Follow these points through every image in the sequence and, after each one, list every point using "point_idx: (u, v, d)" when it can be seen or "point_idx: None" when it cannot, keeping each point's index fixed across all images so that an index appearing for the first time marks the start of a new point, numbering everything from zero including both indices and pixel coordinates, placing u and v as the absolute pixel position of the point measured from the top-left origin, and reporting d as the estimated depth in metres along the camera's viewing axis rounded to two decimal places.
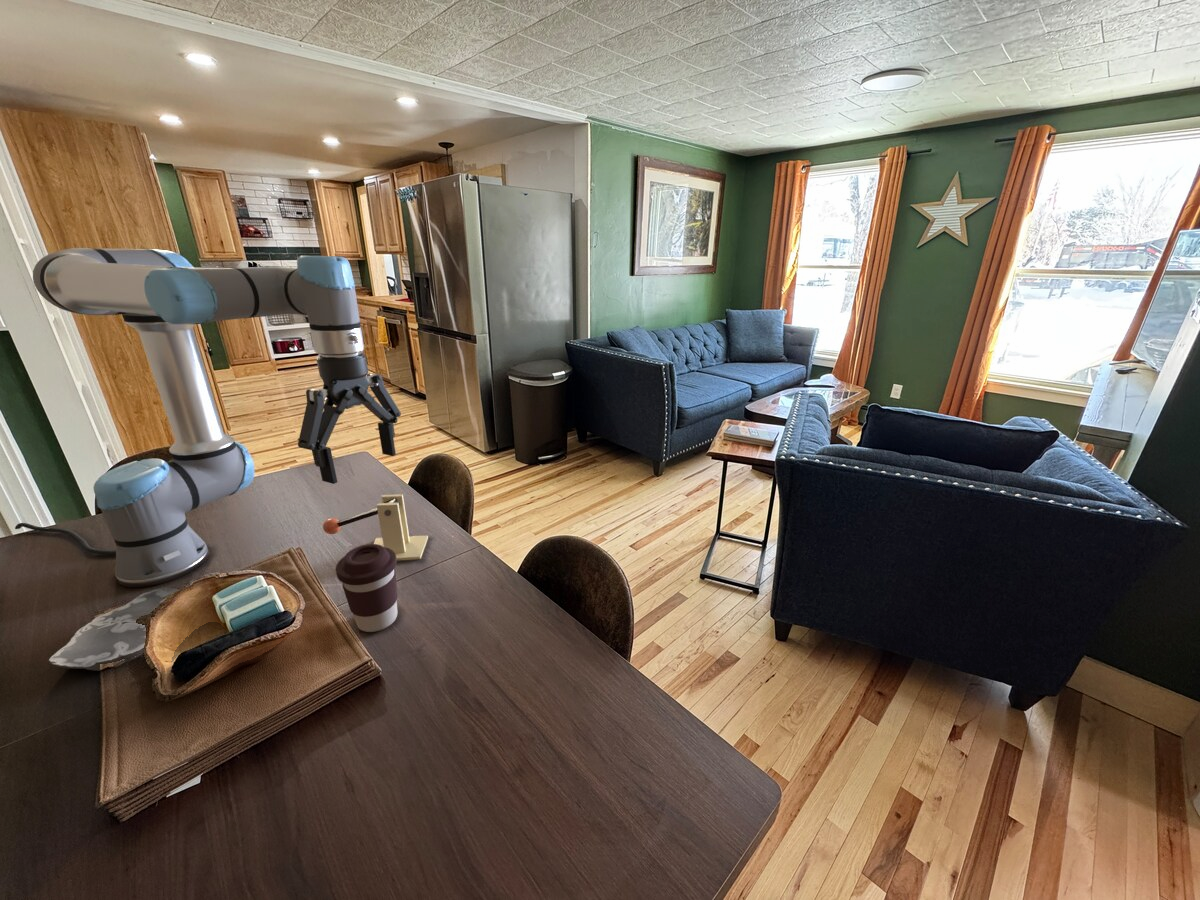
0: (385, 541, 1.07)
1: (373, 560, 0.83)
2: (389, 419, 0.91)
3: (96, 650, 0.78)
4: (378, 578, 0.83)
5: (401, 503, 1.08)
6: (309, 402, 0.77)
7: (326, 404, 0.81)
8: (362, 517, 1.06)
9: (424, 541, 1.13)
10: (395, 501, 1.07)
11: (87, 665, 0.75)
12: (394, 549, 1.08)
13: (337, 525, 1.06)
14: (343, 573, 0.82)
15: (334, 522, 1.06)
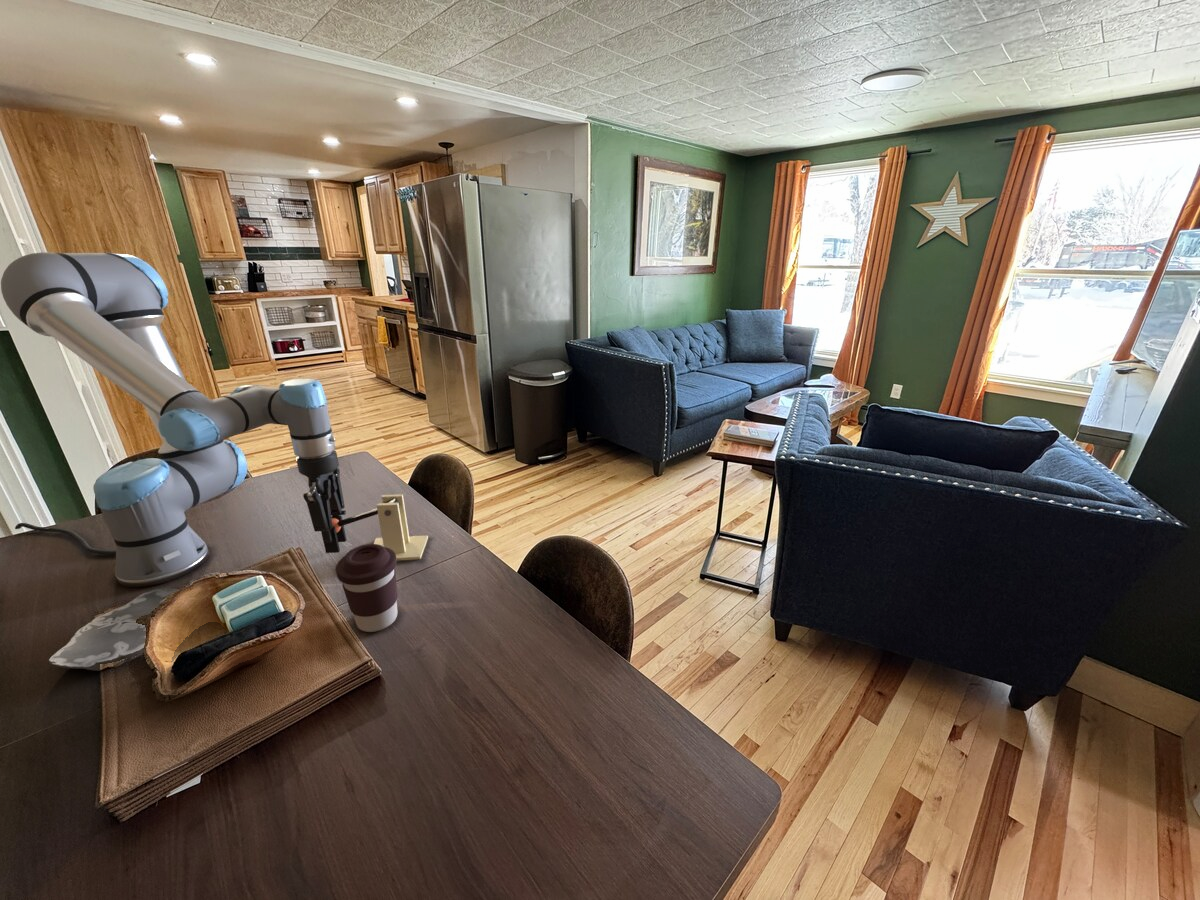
0: (385, 541, 1.07)
1: (373, 560, 0.83)
2: (340, 511, 1.08)
3: (96, 650, 0.78)
4: (378, 578, 0.83)
5: (401, 503, 1.08)
6: (309, 502, 0.98)
7: None
8: (362, 517, 1.06)
9: (424, 541, 1.13)
10: (395, 501, 1.07)
11: (87, 665, 0.75)
12: (394, 549, 1.08)
13: (337, 525, 1.06)
14: (343, 573, 0.82)
15: (334, 522, 1.06)
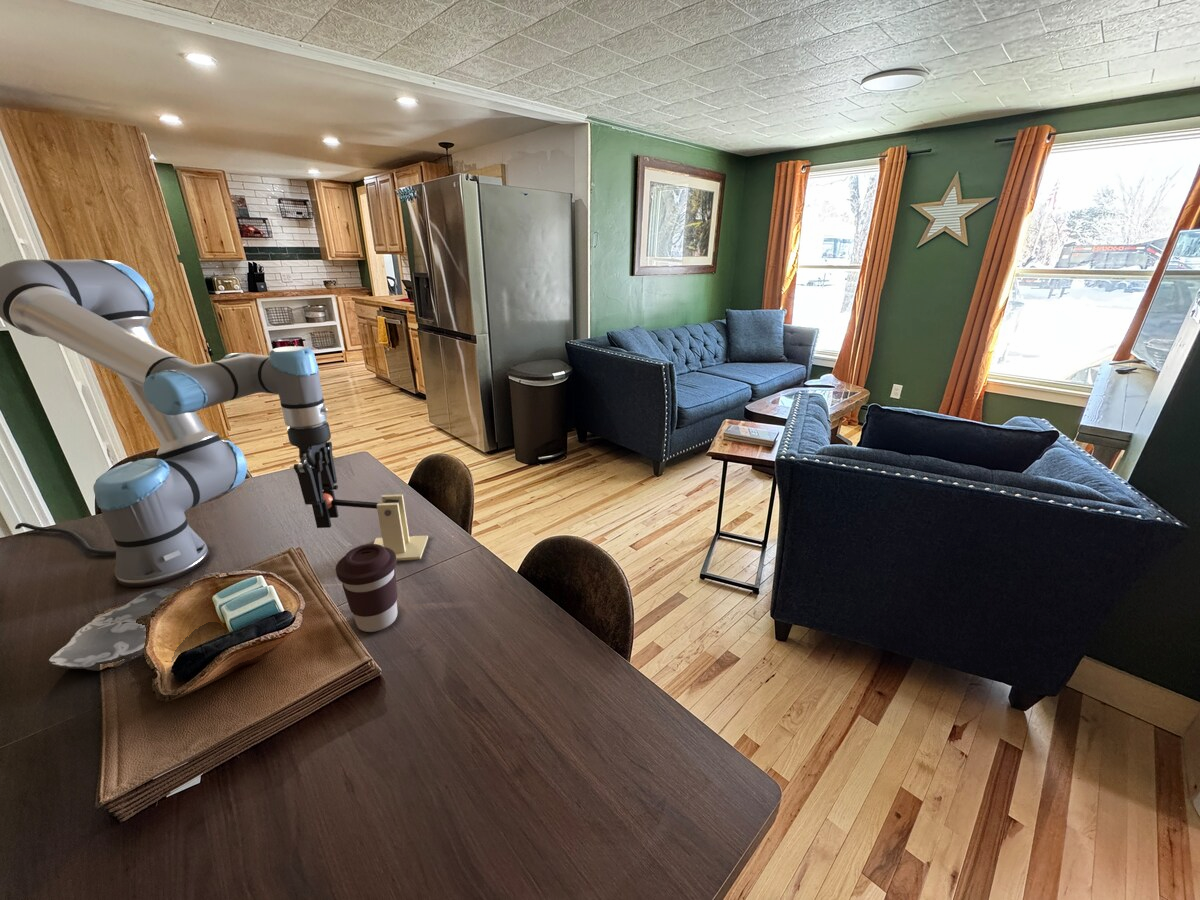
0: (385, 541, 1.07)
1: (373, 560, 0.83)
2: (332, 485, 1.06)
3: (96, 650, 0.78)
4: (378, 578, 0.83)
5: (401, 503, 1.08)
6: (300, 474, 0.95)
7: None
8: (358, 505, 1.05)
9: (424, 541, 1.13)
10: None
11: (87, 665, 0.75)
12: (394, 549, 1.08)
13: (330, 503, 1.04)
14: (343, 573, 0.82)
15: (328, 499, 1.03)
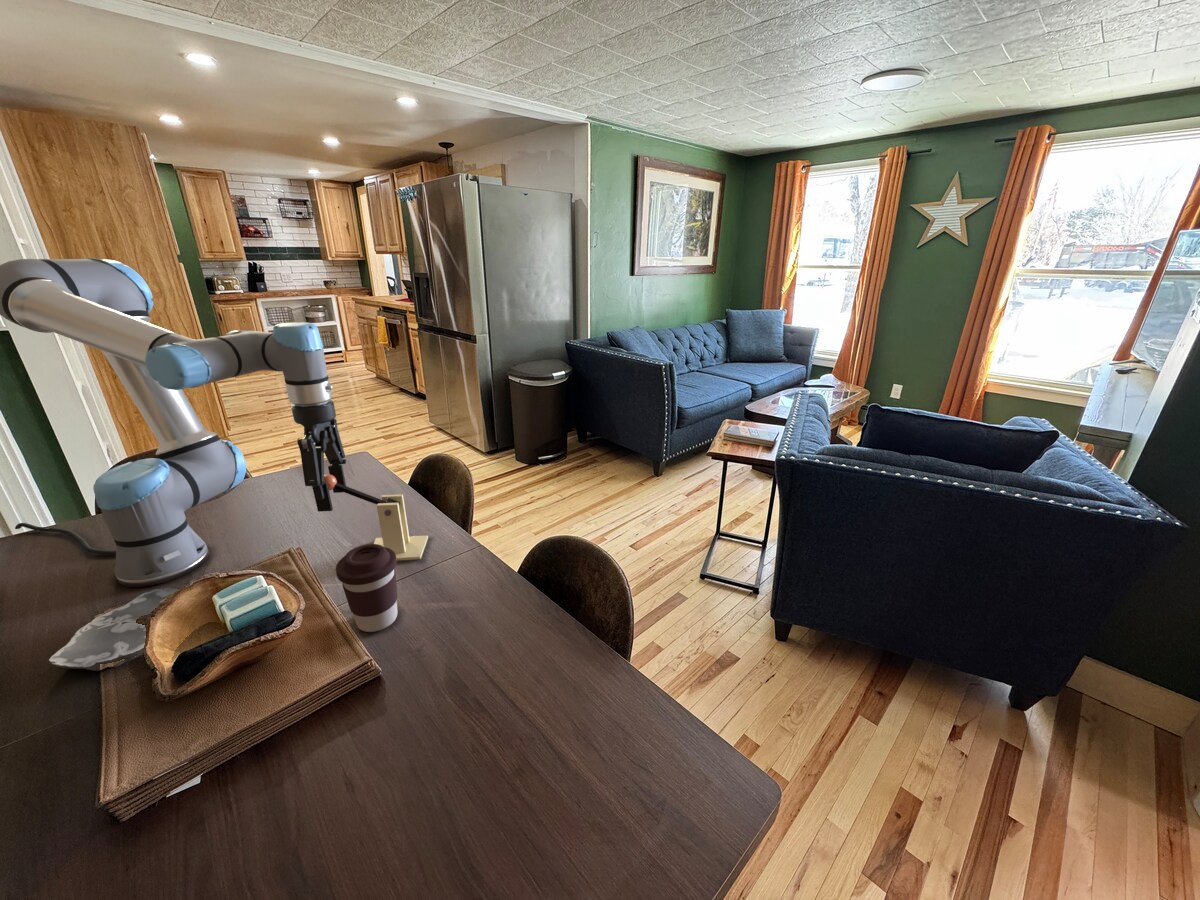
0: (385, 541, 1.07)
1: (373, 560, 0.83)
2: (340, 460, 1.06)
3: (96, 650, 0.78)
4: (378, 578, 0.83)
5: (401, 503, 1.08)
6: (303, 450, 0.93)
7: None
8: (360, 496, 1.04)
9: (424, 541, 1.13)
10: None
11: (87, 665, 0.75)
12: (394, 549, 1.08)
13: (333, 486, 1.02)
14: (343, 573, 0.82)
15: (333, 482, 1.02)
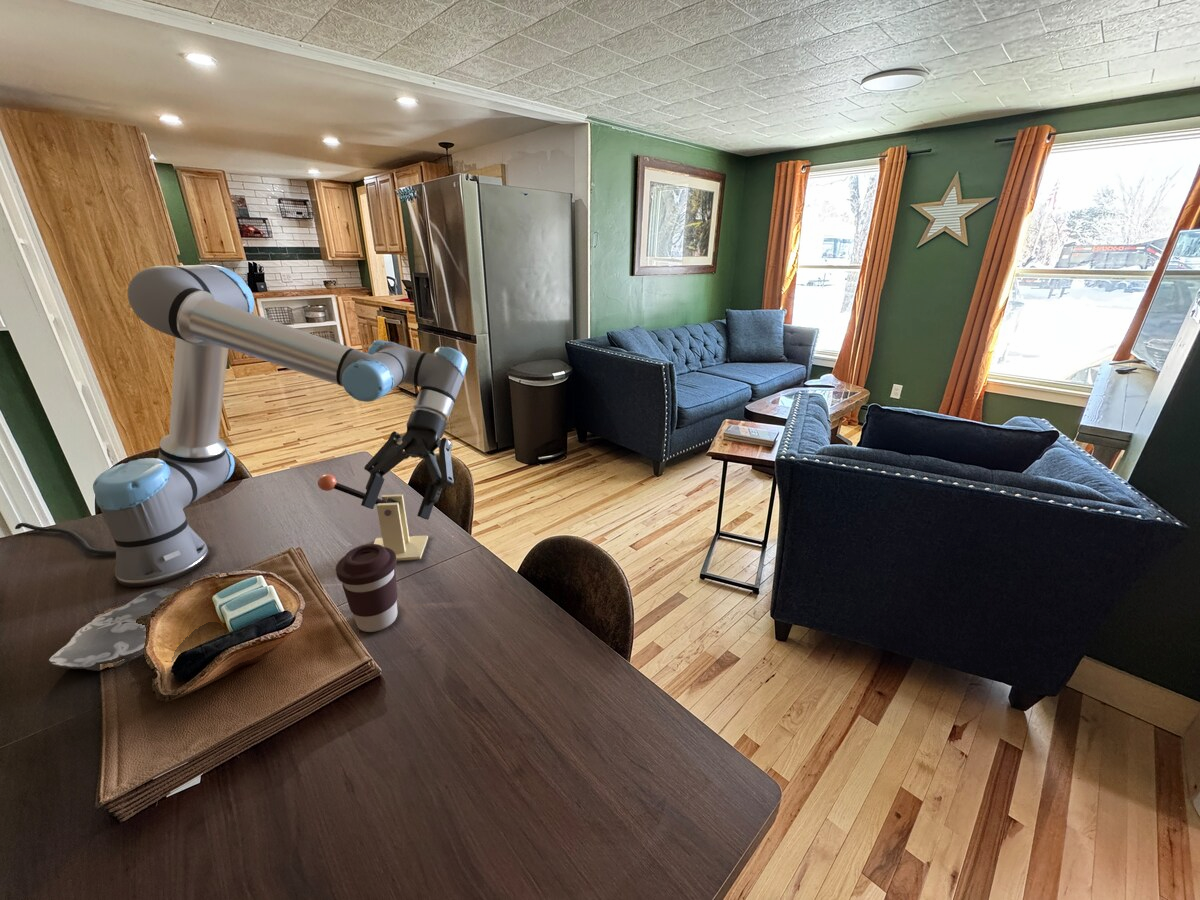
0: (385, 541, 1.07)
1: (373, 560, 0.83)
2: None
3: (96, 650, 0.78)
4: (378, 578, 0.83)
5: (401, 503, 1.08)
6: (445, 448, 0.95)
7: (427, 451, 0.95)
8: (360, 496, 1.04)
9: (424, 541, 1.13)
10: None
11: (87, 665, 0.75)
12: (394, 549, 1.08)
13: (333, 486, 1.02)
14: (343, 573, 0.82)
15: (333, 482, 1.02)
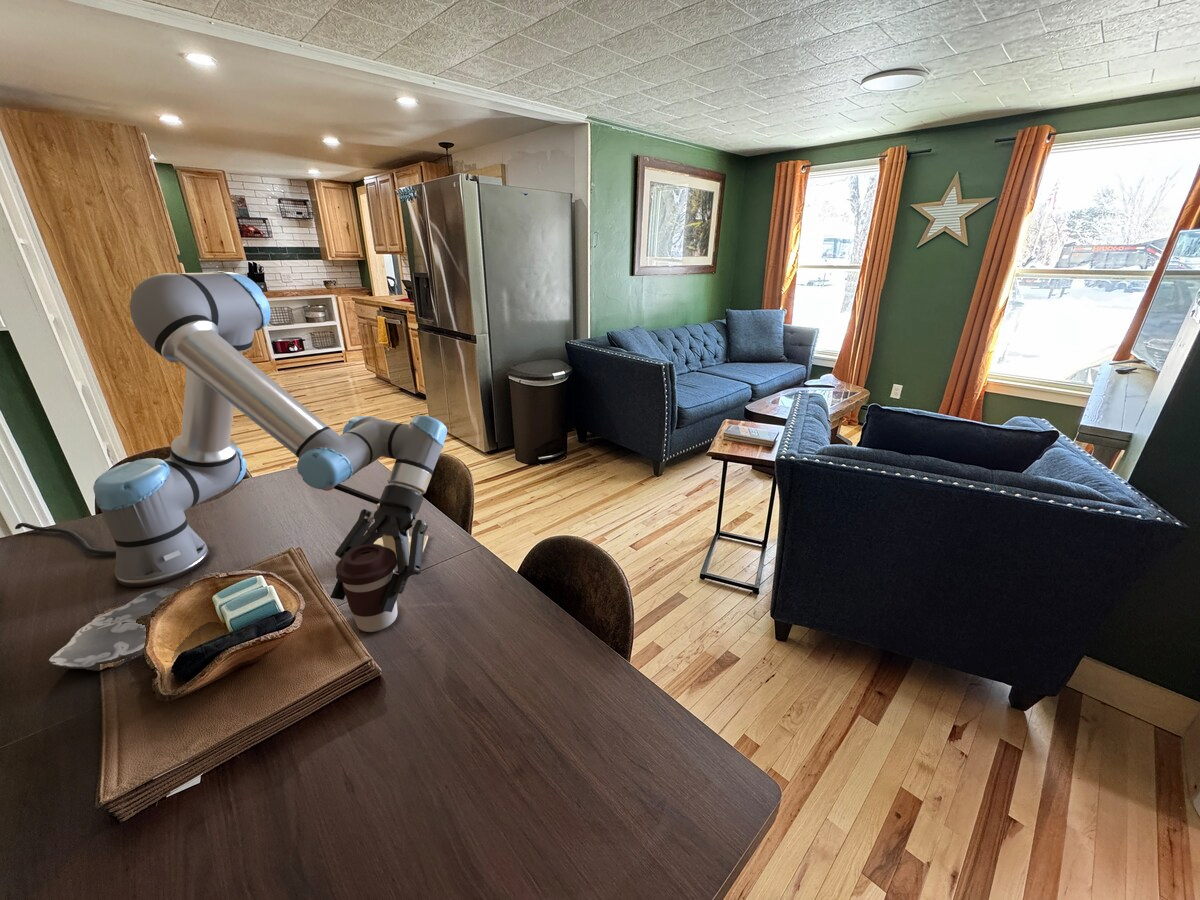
0: (385, 541, 1.07)
1: (373, 560, 0.83)
2: None
3: (96, 650, 0.78)
4: (378, 578, 0.83)
5: None
6: (419, 532, 0.89)
7: (399, 533, 0.89)
8: (360, 496, 1.04)
9: (424, 541, 1.13)
10: None
11: (87, 665, 0.75)
12: (394, 549, 1.08)
13: None
14: (343, 573, 0.82)
15: None
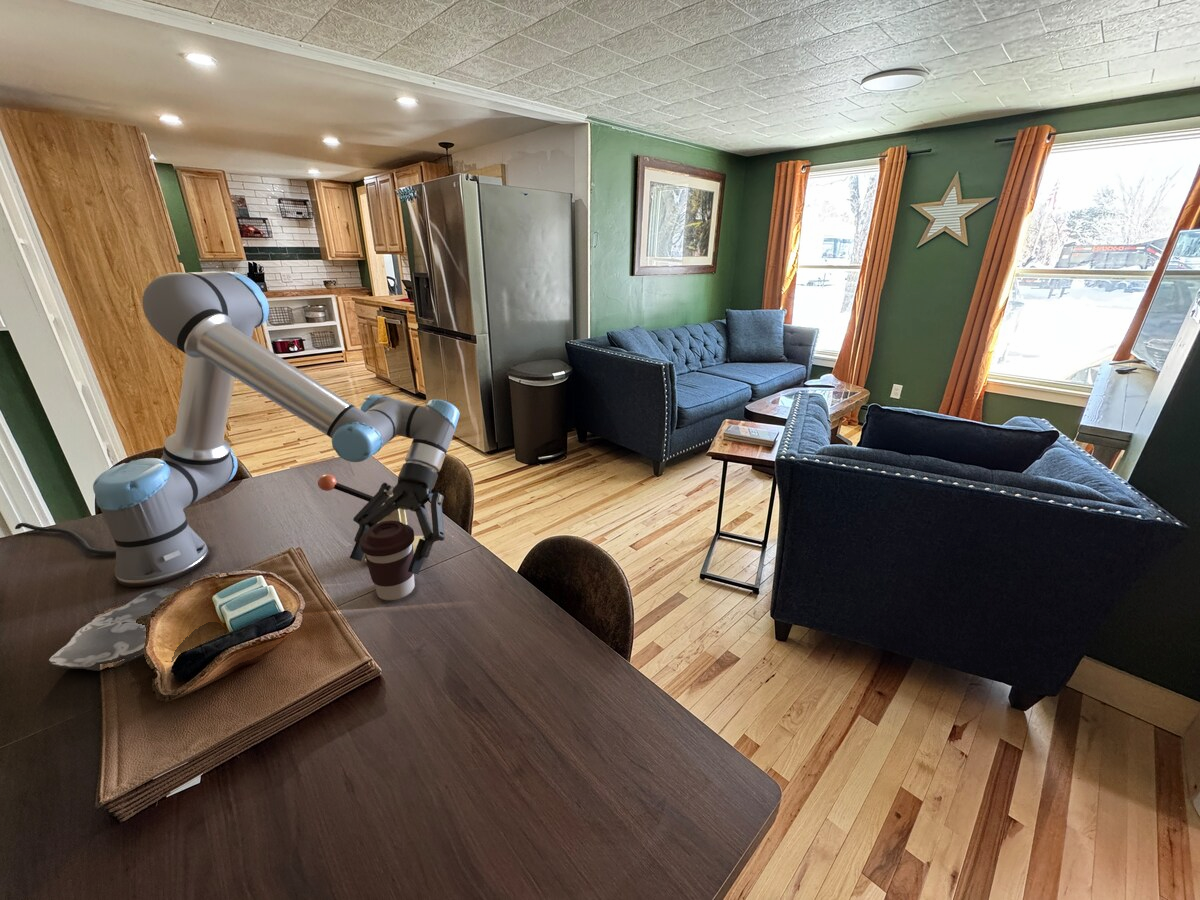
0: None
1: (394, 534, 0.91)
2: None
3: (96, 650, 0.78)
4: (398, 550, 0.91)
5: None
6: (437, 502, 0.97)
7: (419, 505, 0.96)
8: (360, 496, 1.04)
9: None
10: None
11: (87, 665, 0.75)
12: None
13: (333, 486, 1.02)
14: (367, 545, 0.90)
15: (333, 482, 1.02)
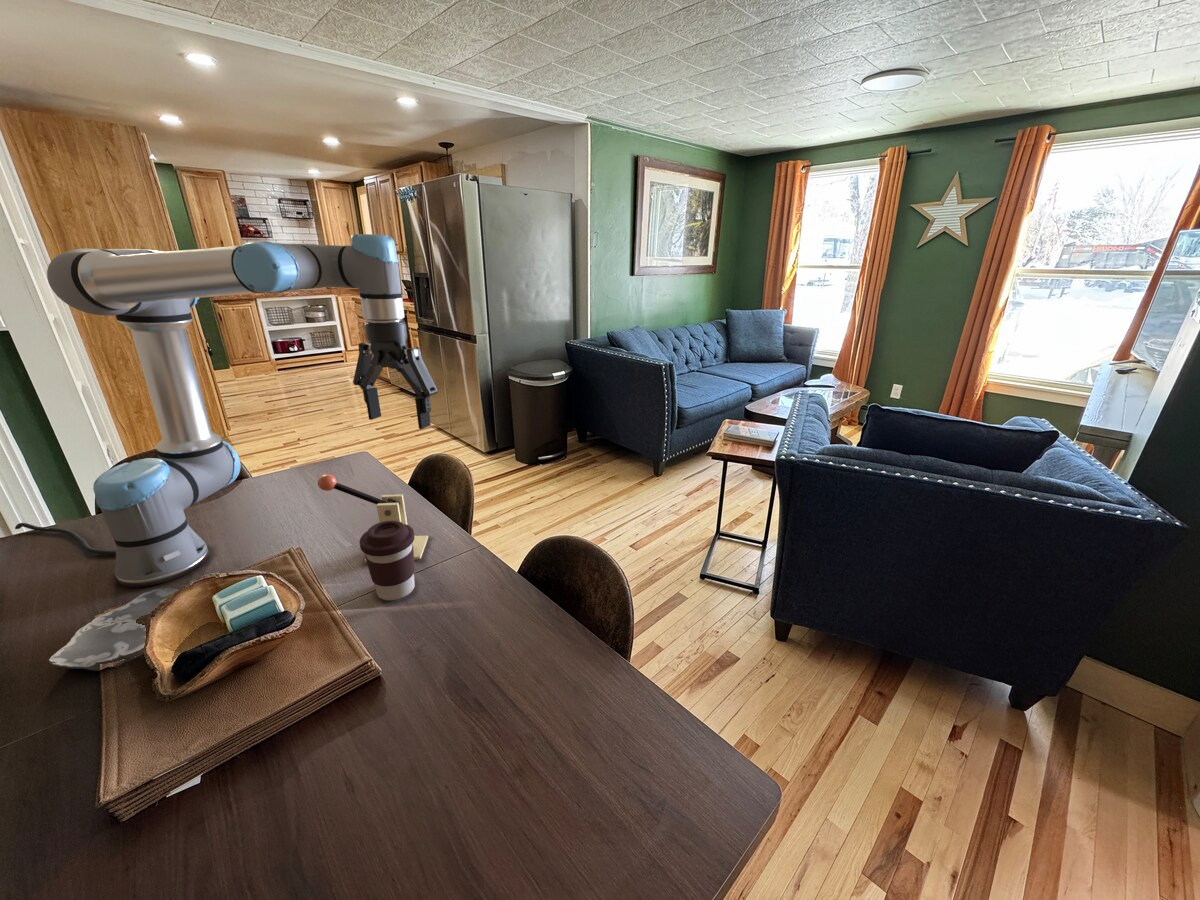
0: None
1: (394, 534, 0.91)
2: None
3: (96, 650, 0.78)
4: (398, 550, 0.91)
5: (401, 503, 1.08)
6: (415, 359, 0.93)
7: (399, 364, 0.94)
8: (360, 496, 1.04)
9: (424, 541, 1.13)
10: None
11: (87, 665, 0.75)
12: None
13: (333, 486, 1.02)
14: (367, 545, 0.90)
15: (333, 482, 1.02)
